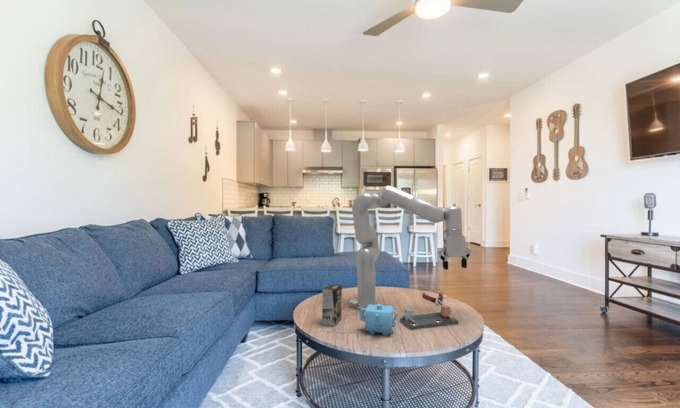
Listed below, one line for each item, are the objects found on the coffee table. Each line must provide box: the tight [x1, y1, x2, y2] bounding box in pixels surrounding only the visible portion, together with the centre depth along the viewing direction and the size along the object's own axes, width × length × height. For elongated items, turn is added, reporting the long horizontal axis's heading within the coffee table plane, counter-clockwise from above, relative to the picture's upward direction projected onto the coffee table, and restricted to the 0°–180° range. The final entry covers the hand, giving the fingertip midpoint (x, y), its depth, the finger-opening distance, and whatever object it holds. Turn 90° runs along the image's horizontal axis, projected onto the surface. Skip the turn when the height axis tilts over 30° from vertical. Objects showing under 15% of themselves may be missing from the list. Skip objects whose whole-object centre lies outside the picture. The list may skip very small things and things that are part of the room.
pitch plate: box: [399, 307, 459, 331], centre depth 142 cm, size 24×10×6 cm, turn 106°
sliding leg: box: [440, 304, 453, 318], centre depth 145 cm, size 3×6×4 cm, turn 16°
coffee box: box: [321, 284, 343, 327], centre depth 143 cm, size 9×6×16 cm
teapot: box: [359, 303, 398, 337], centre depth 132 cm, size 16×18×11 cm
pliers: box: [422, 292, 444, 306], centre depth 174 cm, size 12×20×3 cm, turn 178°
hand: (455, 268), depth 149 cm, fingers open, 9 cm apart
